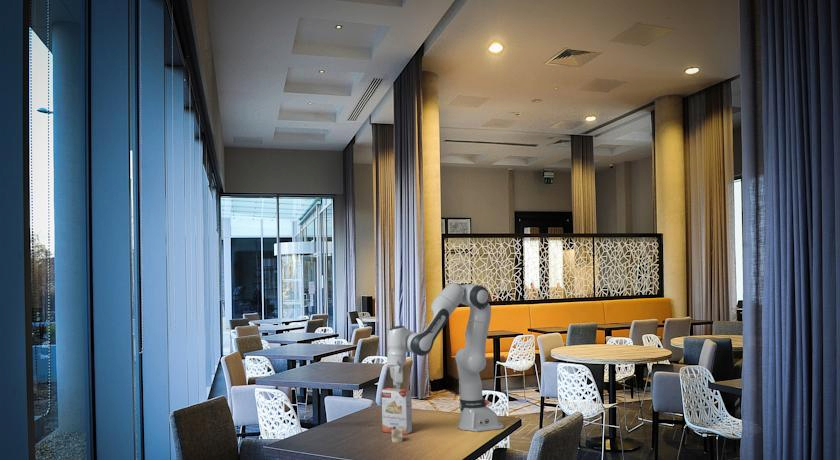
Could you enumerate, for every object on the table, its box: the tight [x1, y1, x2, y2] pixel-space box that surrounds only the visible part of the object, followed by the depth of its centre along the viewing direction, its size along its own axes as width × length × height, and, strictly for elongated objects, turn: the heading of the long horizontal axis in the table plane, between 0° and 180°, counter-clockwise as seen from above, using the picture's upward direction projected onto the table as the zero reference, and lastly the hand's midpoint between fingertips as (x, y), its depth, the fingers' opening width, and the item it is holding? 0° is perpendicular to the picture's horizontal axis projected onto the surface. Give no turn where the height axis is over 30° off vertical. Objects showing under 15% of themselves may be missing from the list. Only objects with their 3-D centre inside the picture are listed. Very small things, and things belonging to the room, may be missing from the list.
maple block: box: [391, 429, 403, 443], centre depth 293 cm, size 4×4×5 cm
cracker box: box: [381, 387, 413, 435], centre depth 310 cm, size 14×6×21 cm, turn 62°
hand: (396, 390), depth 296 cm, fingers open, 8 cm apart
